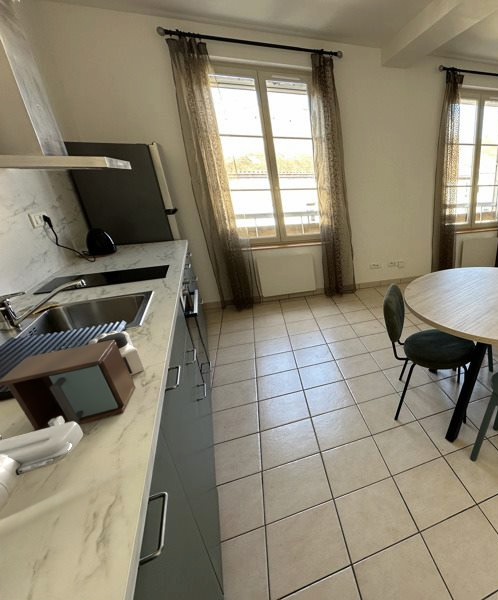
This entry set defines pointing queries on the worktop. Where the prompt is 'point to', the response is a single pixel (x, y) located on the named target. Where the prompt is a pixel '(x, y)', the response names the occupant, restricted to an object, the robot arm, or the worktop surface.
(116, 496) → the worktop surface
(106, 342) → the cupboard
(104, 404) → the sliding door
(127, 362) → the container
